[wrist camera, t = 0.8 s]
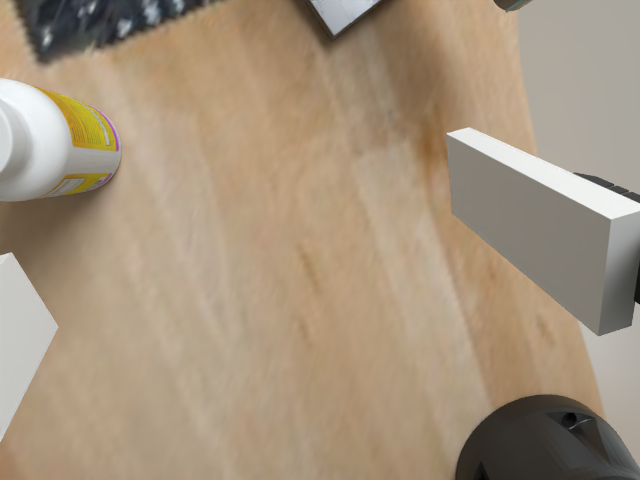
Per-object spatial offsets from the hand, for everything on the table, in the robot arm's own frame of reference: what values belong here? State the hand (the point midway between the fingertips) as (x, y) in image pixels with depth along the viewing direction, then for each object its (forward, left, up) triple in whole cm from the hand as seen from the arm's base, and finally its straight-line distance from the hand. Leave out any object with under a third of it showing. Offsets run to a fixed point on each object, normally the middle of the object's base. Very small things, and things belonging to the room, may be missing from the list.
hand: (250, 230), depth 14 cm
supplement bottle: (+11, +9, -22) cm, 27 cm away
